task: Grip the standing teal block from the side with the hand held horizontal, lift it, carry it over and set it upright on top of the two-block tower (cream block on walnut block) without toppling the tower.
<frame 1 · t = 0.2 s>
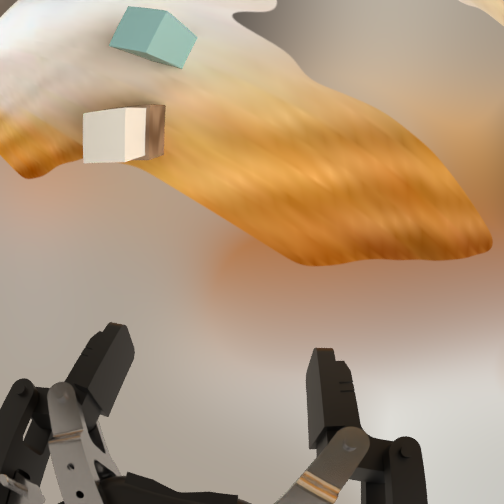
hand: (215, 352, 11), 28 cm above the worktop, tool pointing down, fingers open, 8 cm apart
teal block: (173, 48, 28), on the worktop
cream block: (124, 132, 29), point 5 cm above the worktop, touching walnut block
walnut block: (142, 130, 34), on the worktop, touching cream block
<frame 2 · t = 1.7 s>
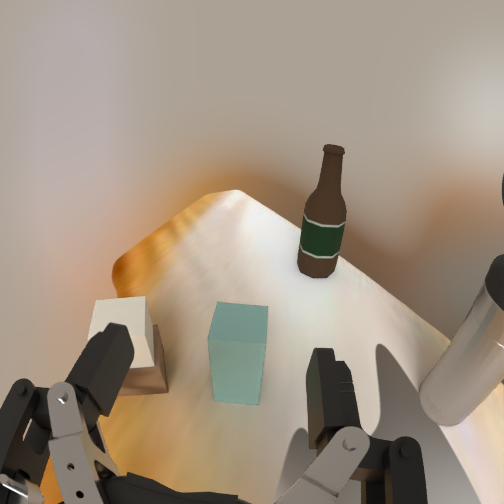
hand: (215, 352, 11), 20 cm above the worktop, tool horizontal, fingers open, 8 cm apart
teal block: (238, 386, 30), on the worktop
cream block: (128, 348, 28), point 5 cm above the worktop, touching walnut block
walnut block: (139, 373, 30), on the worktop, touching cream block
beer bottle: (315, 269, 54), on the worktop
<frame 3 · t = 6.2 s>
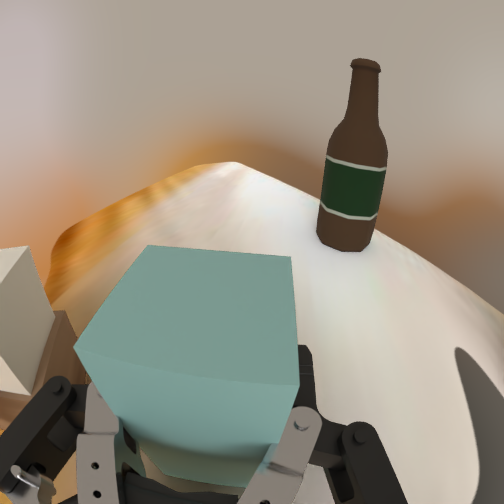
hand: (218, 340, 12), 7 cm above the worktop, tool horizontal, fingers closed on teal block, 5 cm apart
teal block: (216, 445, 12), on the worktop, touching gripper
cream block: (6, 349, 10), point 5 cm above the worktop, touching walnut block
walnut block: (43, 396, 13), on the worktop, touching cream block
beer bottle: (342, 241, 36), on the worktop
when the fingers open (17 cm above the worktop, at t = 10.2 s): teal block stays where it is, resting on cream block.
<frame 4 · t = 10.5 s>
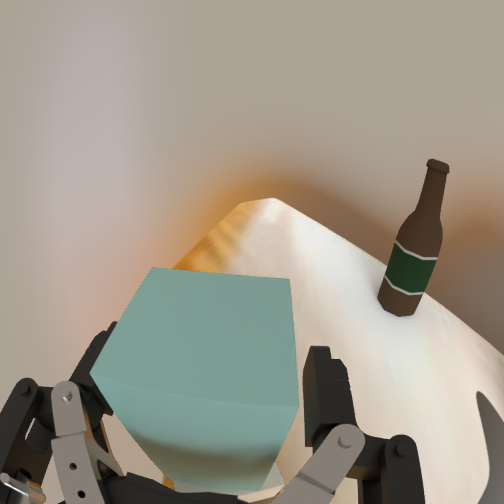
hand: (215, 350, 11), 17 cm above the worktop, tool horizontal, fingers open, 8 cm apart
teal block: (218, 451, 13), point 10 cm above the worktop, touching cream block
cream block: (222, 472, 15), point 5 cm above the worktop, touching teal block, walnut block
beer bottle: (396, 304, 41), on the worktop
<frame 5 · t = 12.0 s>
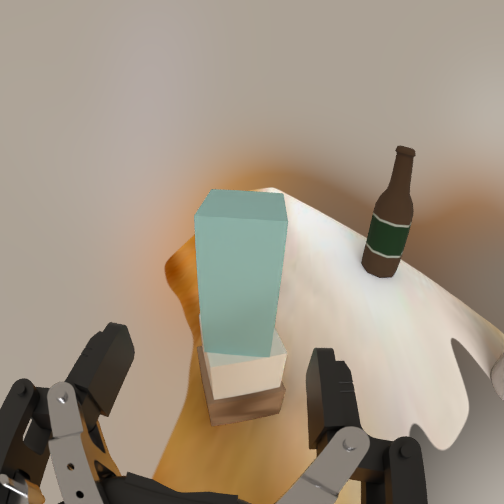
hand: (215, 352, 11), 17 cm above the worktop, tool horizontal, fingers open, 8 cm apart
teal block: (239, 332, 22), point 10 cm above the worktop, touching cream block
cream block: (239, 368, 25), point 5 cm above the worktop, touching teal block, walnut block
walnut block: (237, 394, 27), on the worktop, touching cream block
beer bottle: (378, 268, 51), on the worktop
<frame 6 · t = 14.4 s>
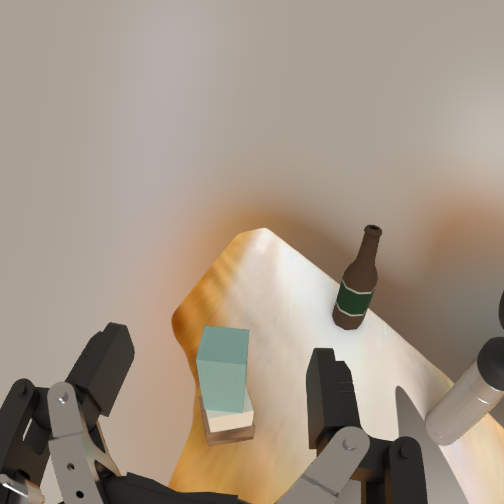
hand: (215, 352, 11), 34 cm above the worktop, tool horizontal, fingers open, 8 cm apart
teal block: (225, 396, 33), point 10 cm above the worktop, touching cream block
cream block: (226, 412, 36), point 5 cm above the worktop, touching teal block, walnut block
walnut block: (226, 425, 38), on the worktop, touching cream block
beer bottle: (346, 320, 62), on the worktop
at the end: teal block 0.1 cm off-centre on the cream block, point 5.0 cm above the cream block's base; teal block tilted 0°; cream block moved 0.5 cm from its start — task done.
